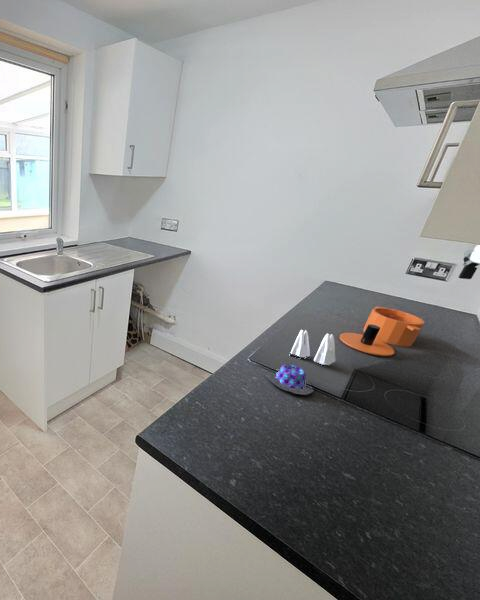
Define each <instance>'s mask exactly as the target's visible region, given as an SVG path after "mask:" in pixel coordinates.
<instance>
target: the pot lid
mask: <svg viewBox="0 0 480 600" xmlns="http://www.w3.org/2000/svg"><path fill="white" fill-rule="evenodd" d="M379 330H380V327H378V326H376V325H372V324H369V325H368V326H367V328H366V330H365V332H364V331H363V334H361V333H355V332H342V333H341V334H339V340H340V341H341V342H342V343H344V344H345V345H347V346H348V347H351V348H352V349H354V350H356V351H359V352H363V353H366V354H369V355H374V356H380V357H391V356H393V355H394V354H395V350H394V348H393V347H392V346H390V344H388V343H384V342H382V341H380V340H377V339H375V338H376V336H377V334H378V332H379Z"/></svg>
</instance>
